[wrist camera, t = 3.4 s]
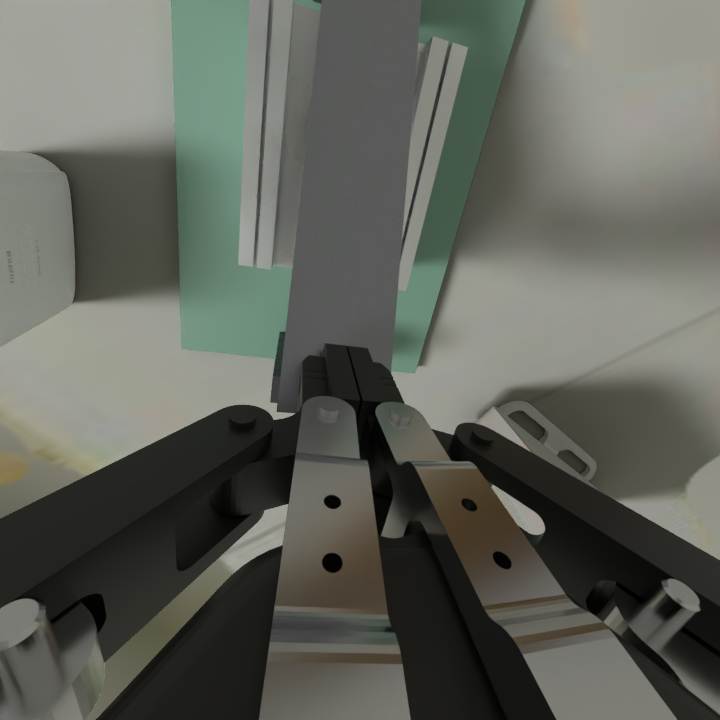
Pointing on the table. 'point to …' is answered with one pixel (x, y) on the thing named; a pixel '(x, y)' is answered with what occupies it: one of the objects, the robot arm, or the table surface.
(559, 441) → the network device
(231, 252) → the mainboard
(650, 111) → the table surface
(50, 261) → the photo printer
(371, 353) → the grey flat bar
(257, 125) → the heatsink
